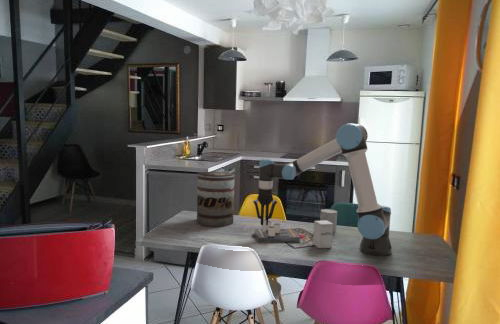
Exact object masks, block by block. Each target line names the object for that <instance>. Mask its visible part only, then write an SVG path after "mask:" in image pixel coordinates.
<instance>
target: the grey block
mask: <svg viewBox="0 0 500 324" xmlns="http://www.w3.org/2000/svg"><path fill="white" fill-rule="evenodd" d="M319 217H320V218H319V221H323V220H327V221H329V222H331V223H333V234H334V235H335V234H336V233H337V222H338V211H337V210H336V209H332V208H324V209H323V208H322V209H320V216H319Z"/></svg>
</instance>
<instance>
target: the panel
mask: <svg viewBox="0 0 500 324" xmlns="http://www.w3.org/2000/svg"><path fill="white" fill-rule="evenodd" d="M254 236H255V237H256V239H257V242H258V243H299V242H300V243H301V237H300V235H299V234H298V233H297V232H296V230H294V229H293V228H280V233H275V236H268V230H266V232H263V231H262V228H259V229H258V228H257V229H255V228H254Z"/></svg>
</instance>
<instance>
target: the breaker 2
mask: <svg viewBox="0 0 500 324" xmlns="http://www.w3.org/2000/svg"><path fill="white" fill-rule="evenodd" d="M268 236H275V227H274V225H271V226H269V227H268Z"/></svg>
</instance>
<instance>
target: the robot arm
mask: <svg viewBox="0 0 500 324" xmlns="http://www.w3.org/2000/svg"><path fill="white" fill-rule="evenodd" d="M368 136H369V134H368V131H367V129H366V128H365V126H364V125H361V124H359V123H354V122H353V123H351V122H350V123H346V124H343V125H342V126H340V127H339V128H338V130H337V131H336V136H335V138H334V139H333V140H331V141H329V142H327V143H325V144H323V145H321V146H320V147H317V148H316V149H314V150H312V151H310V152H308V153H306V154H305V155H302V156H301V157H299V158H296V159H295V160H293V161H292V162H288V163H284V164H282V163H275V162H274V159H270V158H263V159H260V160H259V163H258V165H259V166H258V193H257V194H258V195H257V199H255V200H253V201H252V202H253V204H254V206H255V212H256V216H257V218H258V219H259V220H260V225H261V226H262V227H261V229H262V231H263V232H266V225H268V221H269V220H270V219H272V217H273V214H274V211H275V207H276V205H277V203H278V202H277V200H275V199H274V197H273V190H274V189H273V184H274V179H281V180H286V181H287V180H294V179H295V177H297V176H299V175H300V174H302V173H303V172H305V171H307V170H309V169H311V168H313V167H315V166H317V165H320V164H321V163H322V162H325V161H326V160H327V161H328V159H331V158H333V157H334V156H337V155H339V154H340V153H342V156H344V157H346V161H347V165H348V169H349V173H350V176H351V181H352V185H353V189H354V193H355V197H356V201H357V206H358V208H357V209H356V215H357V229H358V230H357V231H358V232H359V233H360V235H361V237H362V239H361V242H360V243H359V250H360V251H362V252H363V253H366V254H369V255H372V256H374V255H375V256H389V255H391V254H392V253H393V247H392V243H391V239H390V229H391V228H390V227H391V215H392V210H391V207H390V206H386V205H380V204H379V203H378V200H377V196H376V192H375V189H374V187H375V186H374V184H373V180H372V174H371V172H370V167H369V163H368V160H367V156H366V153H367V151H368V145H367V140H368ZM258 204H260V209H259V205H258ZM270 204H271V206H270ZM269 207H270V208H269ZM264 216H265V217H264Z"/></svg>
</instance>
